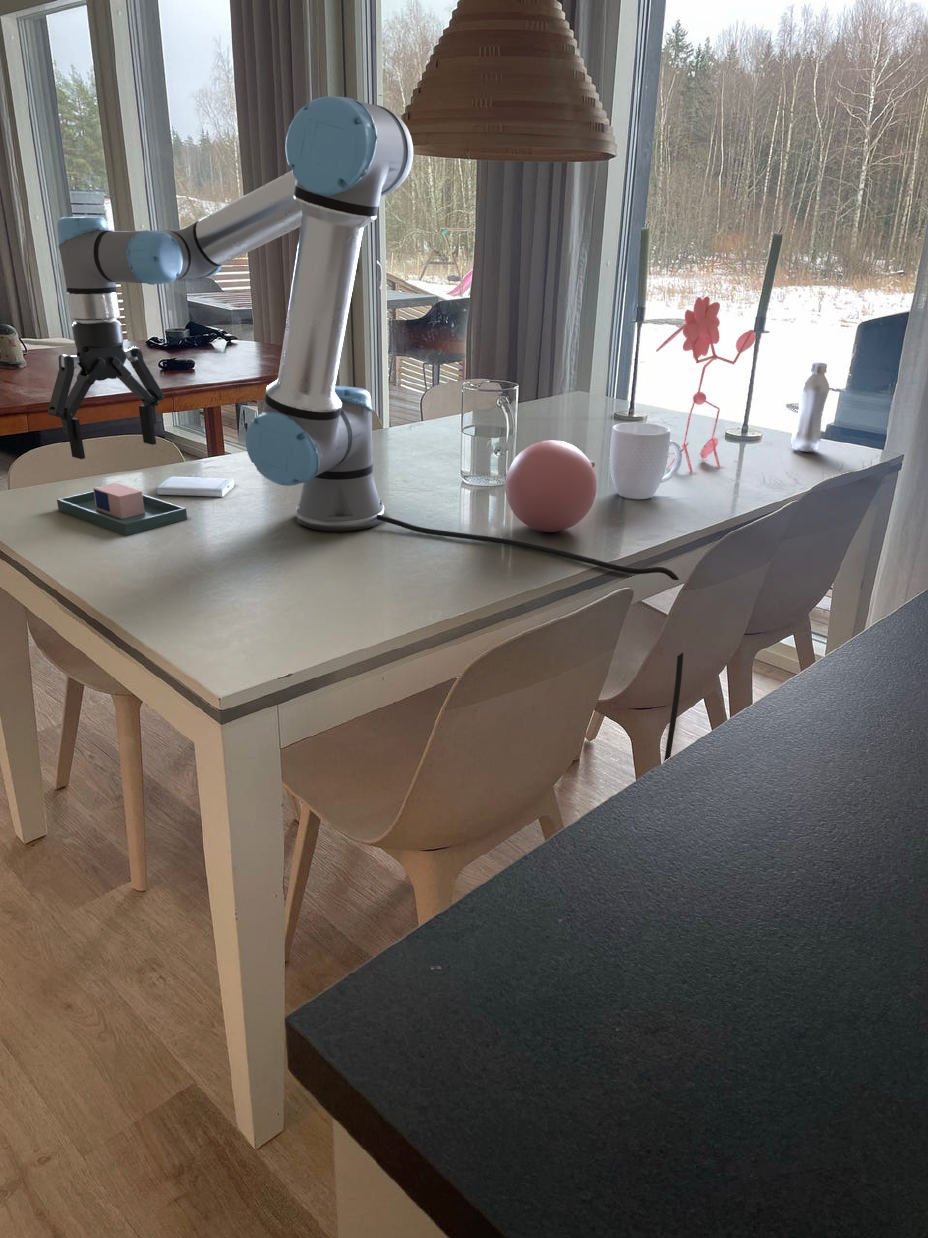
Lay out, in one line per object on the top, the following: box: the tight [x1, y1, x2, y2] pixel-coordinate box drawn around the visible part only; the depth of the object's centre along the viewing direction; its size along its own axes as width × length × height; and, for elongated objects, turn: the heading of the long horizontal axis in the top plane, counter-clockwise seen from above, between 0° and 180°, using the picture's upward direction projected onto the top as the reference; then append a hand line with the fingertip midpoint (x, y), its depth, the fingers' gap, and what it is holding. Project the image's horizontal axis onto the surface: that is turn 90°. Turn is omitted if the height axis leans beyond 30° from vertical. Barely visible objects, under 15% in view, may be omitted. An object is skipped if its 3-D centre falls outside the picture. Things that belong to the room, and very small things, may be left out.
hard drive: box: [156, 475, 235, 498], centre depth 178 cm, size 2×8×12 cm
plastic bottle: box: [790, 362, 830, 453], centre depth 214 cm, size 6×7×20 cm
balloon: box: [504, 439, 598, 533], centre depth 159 cm, size 15×20×15 cm
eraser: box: [92, 482, 144, 519], centre depth 163 cm, size 8×5×4 cm, turn 51°
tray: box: [56, 490, 188, 537], centre depth 163 cm, size 21×12×2 cm, turn 51°
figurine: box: [655, 295, 757, 474], centre depth 198 cm, size 15×26×35 cm, turn 127°
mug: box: [609, 422, 683, 500], centre depth 179 cm, size 15×11×13 cm
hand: (115, 450), depth 159 cm, fingers open, 13 cm apart
